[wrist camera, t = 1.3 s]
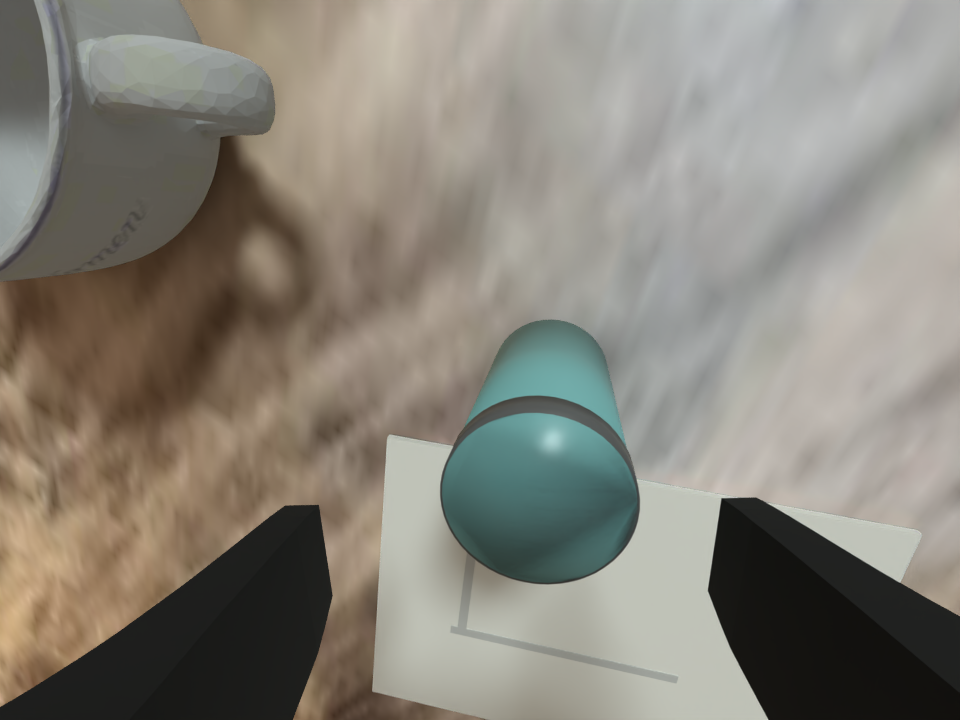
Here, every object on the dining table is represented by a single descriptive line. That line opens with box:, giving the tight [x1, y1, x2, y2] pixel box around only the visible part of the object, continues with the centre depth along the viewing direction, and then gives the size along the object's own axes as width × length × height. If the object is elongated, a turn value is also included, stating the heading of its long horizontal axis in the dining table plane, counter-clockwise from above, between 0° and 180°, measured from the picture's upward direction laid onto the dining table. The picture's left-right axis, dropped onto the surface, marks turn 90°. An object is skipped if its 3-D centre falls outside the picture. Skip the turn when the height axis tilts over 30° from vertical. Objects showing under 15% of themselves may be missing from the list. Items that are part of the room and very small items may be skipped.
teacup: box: [0, 0, 275, 282], centre depth 15 cm, size 14×11×8 cm
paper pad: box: [372, 435, 922, 720], centre depth 22 cm, size 20×14×1 cm
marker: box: [440, 320, 640, 585], centre depth 15 cm, size 4×4×9 cm
